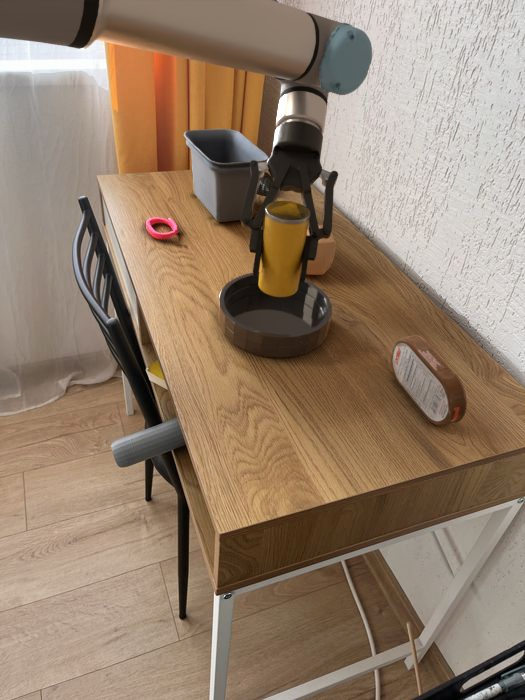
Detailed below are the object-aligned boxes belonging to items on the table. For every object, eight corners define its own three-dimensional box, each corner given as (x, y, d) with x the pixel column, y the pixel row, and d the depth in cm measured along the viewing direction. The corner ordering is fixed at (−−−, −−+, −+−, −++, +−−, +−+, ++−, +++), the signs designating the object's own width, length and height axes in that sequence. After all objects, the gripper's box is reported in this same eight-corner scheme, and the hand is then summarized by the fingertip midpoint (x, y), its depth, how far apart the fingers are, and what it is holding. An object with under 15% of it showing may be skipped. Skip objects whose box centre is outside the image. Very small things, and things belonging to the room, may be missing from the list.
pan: (208, 350, 82) (209, 327, 79) (227, 286, 96) (228, 265, 94) (326, 367, 82) (331, 344, 79) (327, 300, 96) (332, 279, 93)
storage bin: (179, 190, 127) (179, 129, 118) (238, 184, 133) (242, 126, 124) (210, 230, 112) (213, 164, 103) (275, 222, 118) (283, 159, 109)
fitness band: (182, 237, 109) (182, 230, 108) (155, 241, 107) (155, 235, 106) (168, 220, 114) (168, 214, 113) (142, 224, 112) (142, 217, 111)
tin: (456, 434, 73) (478, 391, 68) (438, 439, 72) (458, 396, 67) (399, 365, 84) (413, 323, 78) (382, 368, 83) (396, 326, 77)
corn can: (255, 294, 82) (263, 217, 74) (260, 272, 87) (267, 198, 79) (297, 299, 82) (309, 223, 73) (299, 278, 87) (311, 203, 78)
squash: (299, 290, 98) (295, 247, 93) (252, 251, 113) (246, 212, 107) (347, 271, 101) (346, 228, 96) (295, 236, 116) (291, 197, 111)
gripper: (357, 151, 85) (339, 290, 83) (238, 136, 85) (217, 274, 83) (366, 127, 77) (346, 280, 75) (235, 110, 78) (212, 261, 76)
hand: (279, 276), depth 79 cm, fingers closed on corn can, 6 cm apart
